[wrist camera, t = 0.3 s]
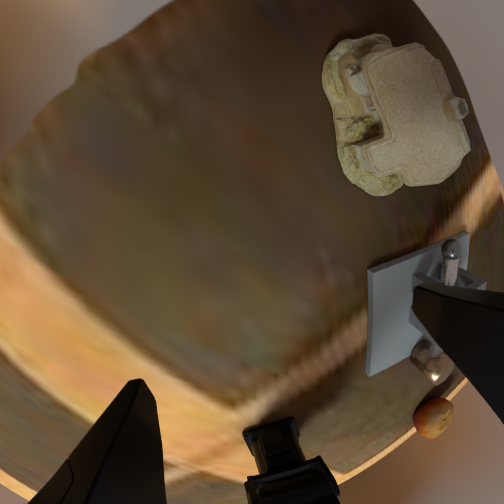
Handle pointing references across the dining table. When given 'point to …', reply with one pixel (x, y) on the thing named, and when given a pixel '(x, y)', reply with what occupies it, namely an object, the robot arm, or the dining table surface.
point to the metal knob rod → (428, 352)
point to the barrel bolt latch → (406, 301)
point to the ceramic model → (393, 114)
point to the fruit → (433, 417)
